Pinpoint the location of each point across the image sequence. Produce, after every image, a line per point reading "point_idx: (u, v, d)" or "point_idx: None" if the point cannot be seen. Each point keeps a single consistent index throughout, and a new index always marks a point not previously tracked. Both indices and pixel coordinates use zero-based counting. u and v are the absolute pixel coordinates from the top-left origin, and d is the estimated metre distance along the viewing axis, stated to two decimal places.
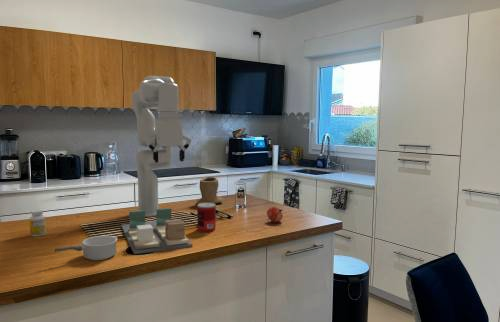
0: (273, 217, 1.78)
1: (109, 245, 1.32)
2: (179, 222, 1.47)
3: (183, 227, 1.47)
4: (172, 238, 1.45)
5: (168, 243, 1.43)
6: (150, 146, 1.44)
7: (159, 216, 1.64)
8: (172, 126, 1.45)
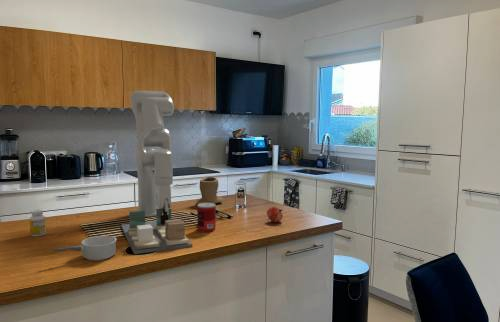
0: (273, 217, 1.78)
1: (108, 245, 1.32)
2: (179, 222, 1.47)
3: (183, 227, 1.47)
4: (172, 238, 1.45)
5: (168, 243, 1.43)
6: (167, 211, 1.62)
7: (159, 216, 1.64)
8: None
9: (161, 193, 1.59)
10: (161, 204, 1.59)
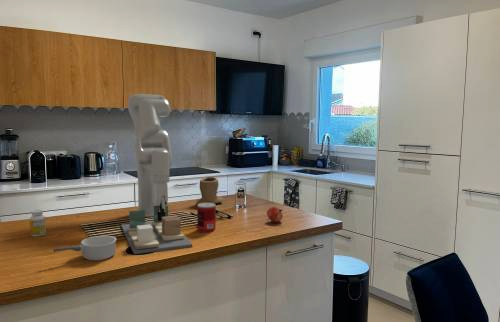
0: (273, 217, 1.78)
1: (108, 245, 1.31)
2: (175, 218, 1.53)
3: (179, 223, 1.52)
4: (168, 234, 1.51)
5: (164, 238, 1.48)
6: (164, 208, 1.68)
7: (156, 213, 1.69)
8: None
9: (158, 190, 1.64)
10: (158, 201, 1.65)
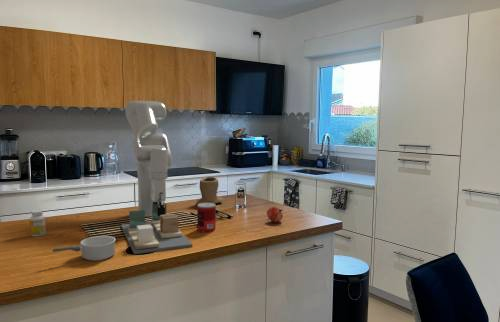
0: (273, 217, 1.78)
1: (107, 245, 1.31)
2: (173, 216, 1.56)
3: (177, 221, 1.55)
4: (166, 231, 1.54)
5: (162, 236, 1.51)
6: (164, 203, 1.68)
7: (155, 211, 1.72)
8: None
9: (156, 187, 1.68)
10: (156, 198, 1.68)
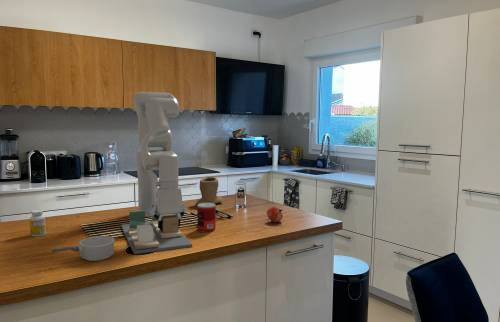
0: (273, 217, 1.78)
1: (106, 245, 1.31)
2: (173, 216, 1.56)
3: (177, 221, 1.55)
4: (166, 231, 1.54)
5: (163, 236, 1.51)
6: None
7: (155, 211, 1.72)
8: None
9: (181, 195, 1.56)
10: (182, 206, 1.56)
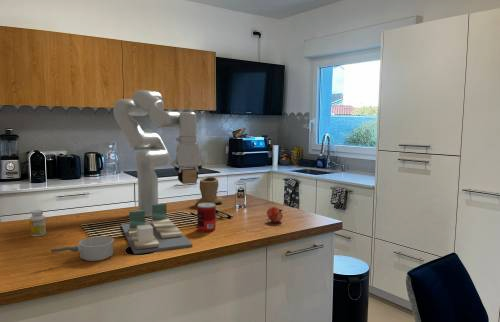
0: (273, 217, 1.78)
1: (106, 246, 1.31)
2: (192, 169, 1.72)
3: (195, 173, 1.71)
4: (186, 182, 1.70)
5: (162, 236, 1.51)
6: None
7: (155, 211, 1.72)
8: None
9: (199, 150, 1.72)
10: (200, 160, 1.73)
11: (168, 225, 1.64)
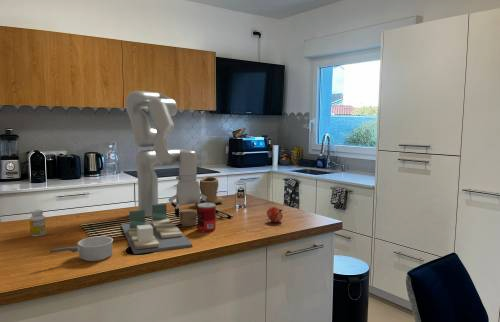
0: (273, 217, 1.78)
1: (105, 246, 1.31)
2: (191, 211, 1.74)
3: (195, 216, 1.74)
4: (186, 225, 1.72)
5: (162, 236, 1.51)
6: None
7: (155, 211, 1.72)
8: None
9: (199, 188, 1.74)
10: None
11: (168, 225, 1.64)
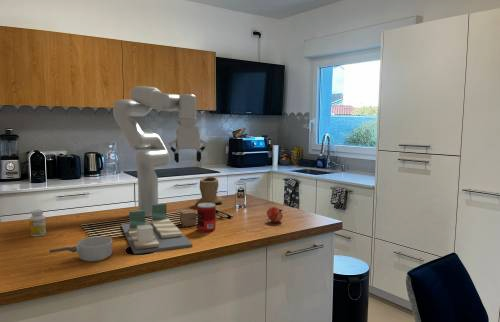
0: (273, 217, 1.78)
1: (104, 246, 1.31)
2: (191, 211, 1.74)
3: (195, 216, 1.74)
4: (186, 225, 1.72)
5: (162, 236, 1.51)
6: None
7: (155, 211, 1.72)
8: None
9: (199, 133, 1.71)
10: None
11: (168, 225, 1.64)
